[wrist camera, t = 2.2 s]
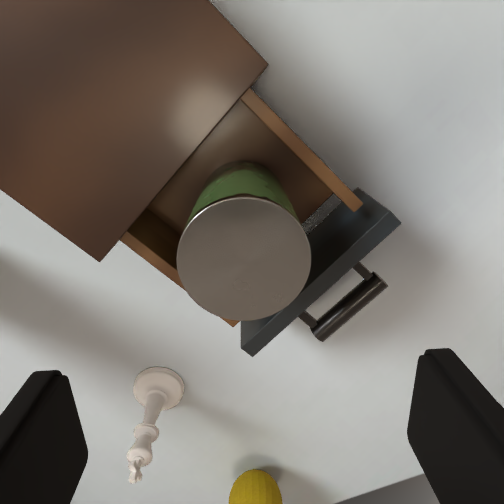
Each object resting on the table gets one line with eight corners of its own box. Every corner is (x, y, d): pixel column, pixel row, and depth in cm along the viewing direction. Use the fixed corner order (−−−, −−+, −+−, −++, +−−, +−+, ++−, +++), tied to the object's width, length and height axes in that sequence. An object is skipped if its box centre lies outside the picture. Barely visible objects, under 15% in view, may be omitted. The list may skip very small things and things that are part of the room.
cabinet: (260, 75, 27) (269, 64, 19) (136, 220, 31) (99, 262, 23) (86, -106, 23) (1, -220, 15) (-32, 85, 27) (-151, 79, 19)
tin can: (262, 143, 27) (275, 171, 16) (298, 219, 29) (332, 288, 18) (184, 184, 28) (149, 236, 17) (225, 255, 30) (217, 340, 19)
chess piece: (175, 362, 36) (153, 451, 27) (190, 400, 38) (174, 497, 29) (127, 372, 37) (88, 464, 27) (143, 410, 38) (112, 508, 29)
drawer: (401, 232, 31) (443, 266, 25) (285, 335, 34) (295, 389, 28) (240, 66, 26) (240, 54, 20) (123, 206, 29) (91, 236, 23)
